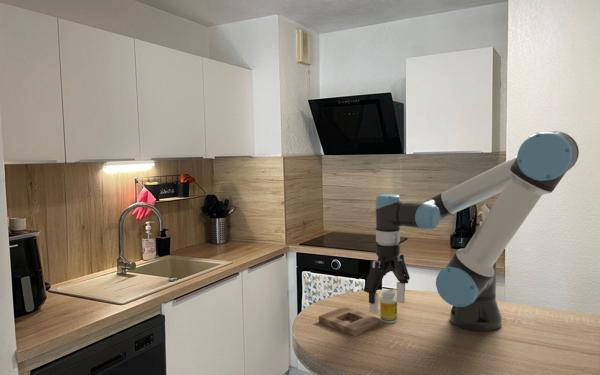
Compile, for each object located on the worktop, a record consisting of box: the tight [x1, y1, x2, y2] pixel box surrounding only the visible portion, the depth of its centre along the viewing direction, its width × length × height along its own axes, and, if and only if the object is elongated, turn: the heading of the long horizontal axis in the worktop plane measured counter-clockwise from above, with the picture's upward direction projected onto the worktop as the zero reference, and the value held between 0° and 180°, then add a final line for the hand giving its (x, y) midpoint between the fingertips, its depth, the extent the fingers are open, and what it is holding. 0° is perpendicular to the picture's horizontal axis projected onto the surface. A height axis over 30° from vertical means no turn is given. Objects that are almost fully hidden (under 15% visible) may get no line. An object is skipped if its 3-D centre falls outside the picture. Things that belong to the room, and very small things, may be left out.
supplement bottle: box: [379, 289, 398, 324], centre depth 149 cm, size 5×5×10 cm
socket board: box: [318, 306, 382, 338], centre depth 148 cm, size 16×12×2 cm
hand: (387, 307), depth 150 cm, fingers open, 13 cm apart
